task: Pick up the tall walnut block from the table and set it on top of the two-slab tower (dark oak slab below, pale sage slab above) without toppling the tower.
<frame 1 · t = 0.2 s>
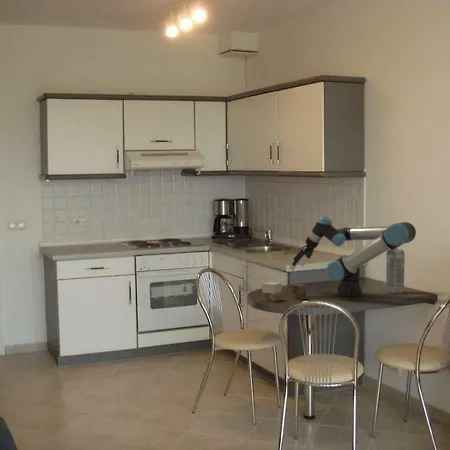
hand: (296, 267, 428), 16 cm above the table, tool tilted 35°, fingers open, 13 cm apart
juice carton: (394, 292, 430), on the table
tower top: (271, 291, 408), point 5 cm above the table
block: (298, 298, 412), on the table
tower base: (271, 300, 408), on the table
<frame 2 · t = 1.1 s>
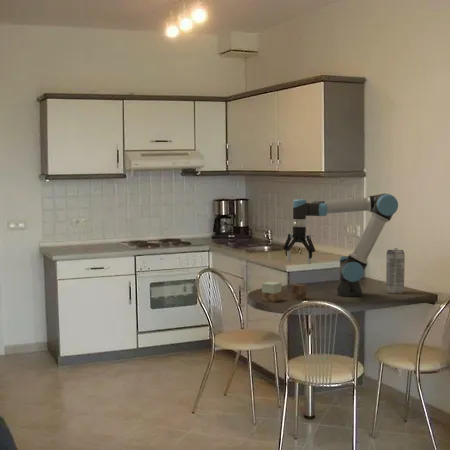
hand: (298, 262, 411), 21 cm above the table, tool pointing down, fingers open, 13 cm apart
tower top: (271, 291, 408), point 5 cm above the table, touching tower base
tower base: (271, 300, 408), on the table, touching tower top
everything else where it was.
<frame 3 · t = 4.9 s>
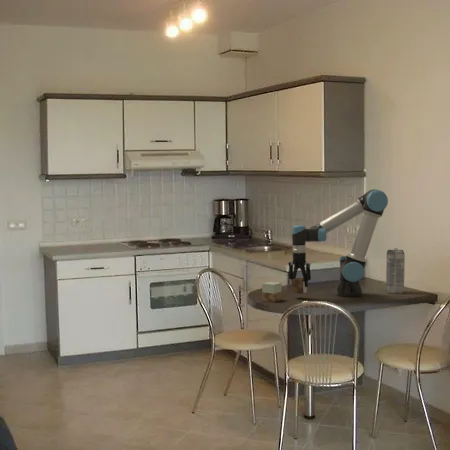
hand: (299, 291, 412), 4 cm above the table, tool pointing down, fingers closed on block, 6 cm apart
block: (300, 292, 412), point 4 cm above the table, touching gripper
everything else where it was.
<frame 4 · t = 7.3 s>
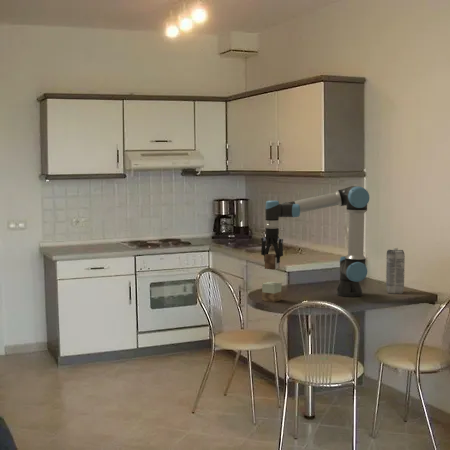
hand: (271, 268, 407), 19 cm above the table, tool pointing down, fingers closed on block, 6 cm apart
block: (272, 268, 407), point 18 cm above the table, touching gripper
everything else where it was.
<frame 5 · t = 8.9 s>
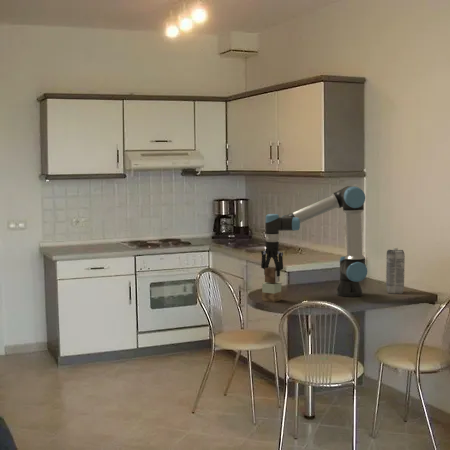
hand: (272, 281, 407), 11 cm above the table, tool pointing down, fingers closed on block, 6 cm apart
tower top: (271, 291, 408), point 5 cm above the table
block: (272, 281, 407), point 11 cm above the table, touching gripper
tower base: (271, 300, 408), on the table
everything else where it was.
when the fingers open (11 cm above the table, at t = 9.3 s): block stays where it is, resting on tower top.
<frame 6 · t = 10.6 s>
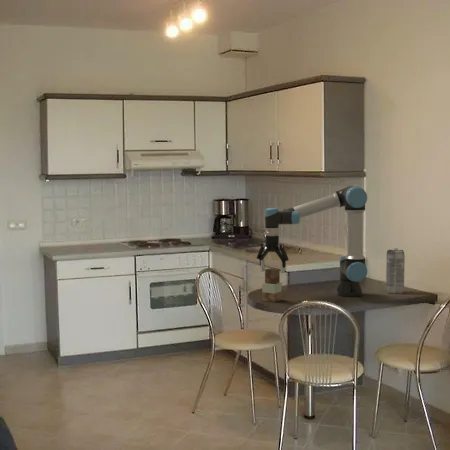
hand: (272, 272, 407), 16 cm above the table, tool pointing down, fingers open, 13 cm apart
tower top: (271, 291, 408), point 5 cm above the table, touching block, tower base
block: (272, 283, 407), point 10 cm above the table, touching tower top
tower base: (271, 300, 408), on the table, touching tower top
everything else where it was.
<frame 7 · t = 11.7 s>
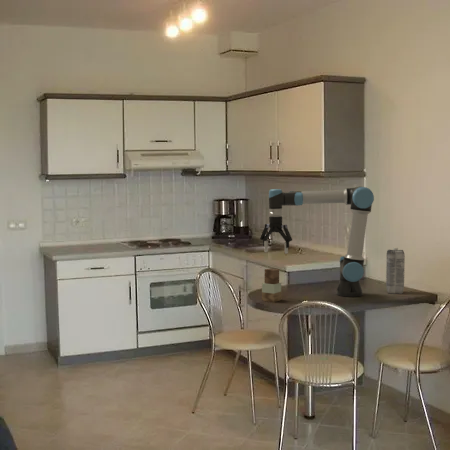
hand: (276, 252, 411), 27 cm above the table, tool pointing down, fingers open, 13 cm apart
tower top: (271, 291, 408), point 5 cm above the table, touching tower base
block: (271, 283, 407), point 10 cm above the table
everything else where it was.
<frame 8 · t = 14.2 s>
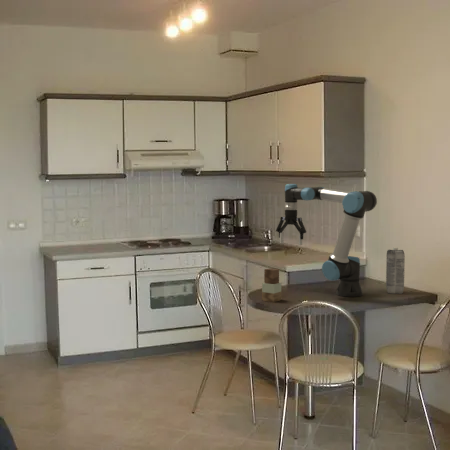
hand: (290, 243, 437), 29 cm above the table, tool pointing down, fingers open, 13 cm apart
tower top: (271, 291, 408), point 5 cm above the table, touching block, tower base
block: (271, 283, 407), point 10 cm above the table, touching tower top
everything else where it was.
at the end: block 0.1 cm from the tower top (horizontally); block point 9.8 cm above the table; tower top tilted 0° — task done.
